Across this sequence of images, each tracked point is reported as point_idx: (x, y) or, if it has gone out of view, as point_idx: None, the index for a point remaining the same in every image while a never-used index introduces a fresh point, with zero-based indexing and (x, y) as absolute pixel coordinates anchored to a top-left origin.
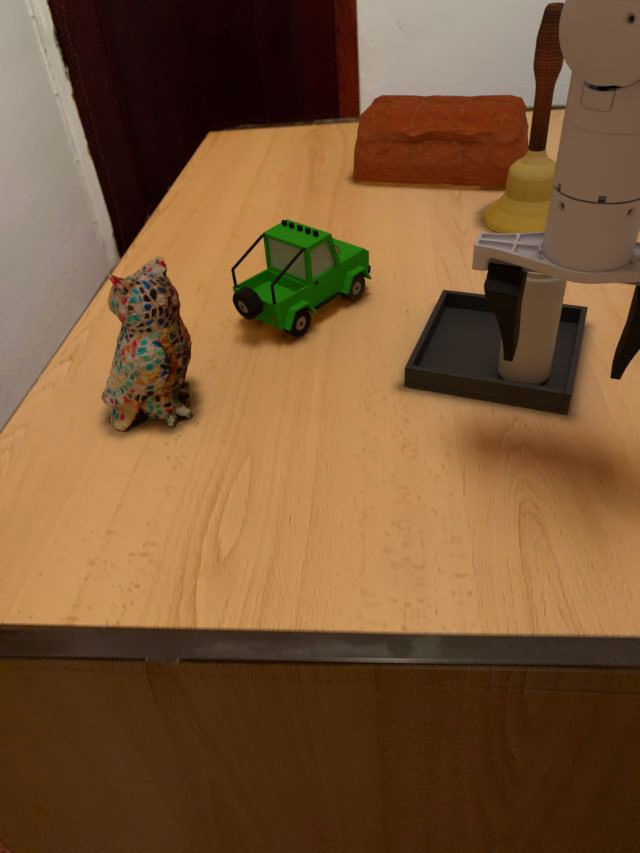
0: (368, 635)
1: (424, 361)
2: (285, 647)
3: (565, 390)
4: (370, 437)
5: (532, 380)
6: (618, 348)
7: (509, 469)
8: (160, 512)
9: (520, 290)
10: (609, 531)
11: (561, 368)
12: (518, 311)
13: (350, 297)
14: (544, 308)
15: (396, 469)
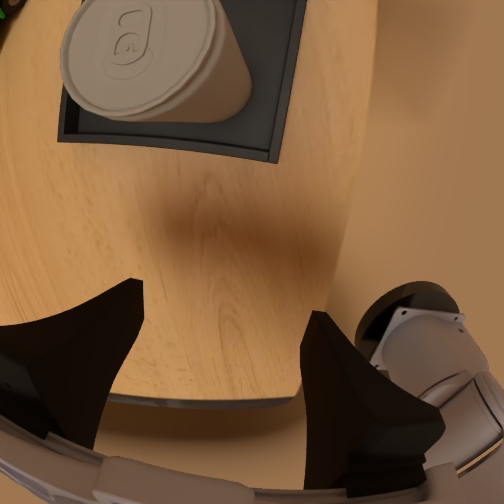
0: (142, 397)
1: None
2: (107, 398)
3: (269, 153)
4: (68, 233)
5: (222, 120)
6: (313, 357)
7: (205, 265)
8: (5, 318)
9: (82, 433)
10: (299, 329)
11: (272, 64)
12: (101, 367)
13: (13, 11)
14: (187, 115)
15: (102, 275)
